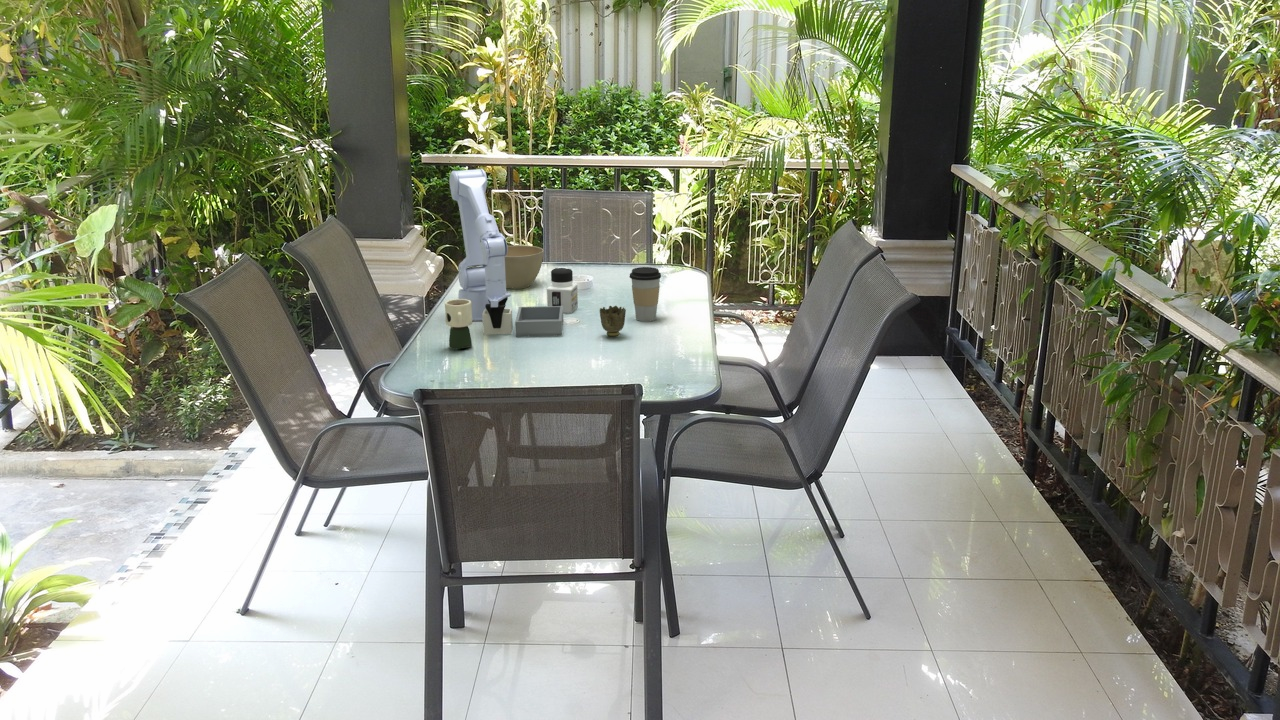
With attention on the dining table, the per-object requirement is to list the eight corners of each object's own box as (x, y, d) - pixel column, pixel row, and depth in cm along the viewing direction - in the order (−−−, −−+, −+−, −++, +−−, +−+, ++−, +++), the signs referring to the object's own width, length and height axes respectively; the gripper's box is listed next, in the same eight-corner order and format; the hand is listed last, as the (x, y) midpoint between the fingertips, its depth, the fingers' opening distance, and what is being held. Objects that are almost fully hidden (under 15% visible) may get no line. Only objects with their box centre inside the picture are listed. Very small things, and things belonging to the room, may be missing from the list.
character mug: (446, 342, 298) (443, 297, 294) (472, 341, 299) (469, 296, 295) (448, 354, 288) (445, 308, 284) (475, 352, 289) (472, 306, 285)
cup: (606, 341, 298) (606, 313, 295) (595, 334, 304) (595, 307, 302) (630, 337, 301) (630, 310, 299) (619, 331, 307) (618, 304, 305)
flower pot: (555, 283, 361) (554, 248, 357) (522, 295, 347) (520, 258, 343) (513, 277, 370) (512, 242, 367) (479, 288, 356) (477, 252, 352)
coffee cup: (666, 316, 321) (666, 268, 317) (653, 324, 313) (653, 274, 309) (637, 313, 325) (637, 265, 320) (624, 321, 317) (623, 272, 312)
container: (571, 313, 325) (570, 272, 321) (547, 312, 327) (545, 271, 323) (578, 307, 333) (577, 266, 328) (554, 306, 334) (552, 265, 330)
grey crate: (515, 337, 303) (515, 321, 301) (519, 321, 318) (519, 306, 316) (561, 336, 303) (561, 320, 302) (563, 320, 318) (563, 306, 317)
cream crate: (483, 334, 305) (482, 314, 304) (485, 329, 311) (484, 309, 309) (511, 333, 306) (510, 313, 304) (512, 328, 311) (511, 308, 309)
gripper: (507, 285, 297) (509, 332, 301) (511, 272, 310) (513, 317, 315) (482, 285, 296) (484, 332, 301) (487, 273, 310) (489, 318, 314)
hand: (497, 325), depth 308 cm, fingers closed on cream crate, 5 cm apart
